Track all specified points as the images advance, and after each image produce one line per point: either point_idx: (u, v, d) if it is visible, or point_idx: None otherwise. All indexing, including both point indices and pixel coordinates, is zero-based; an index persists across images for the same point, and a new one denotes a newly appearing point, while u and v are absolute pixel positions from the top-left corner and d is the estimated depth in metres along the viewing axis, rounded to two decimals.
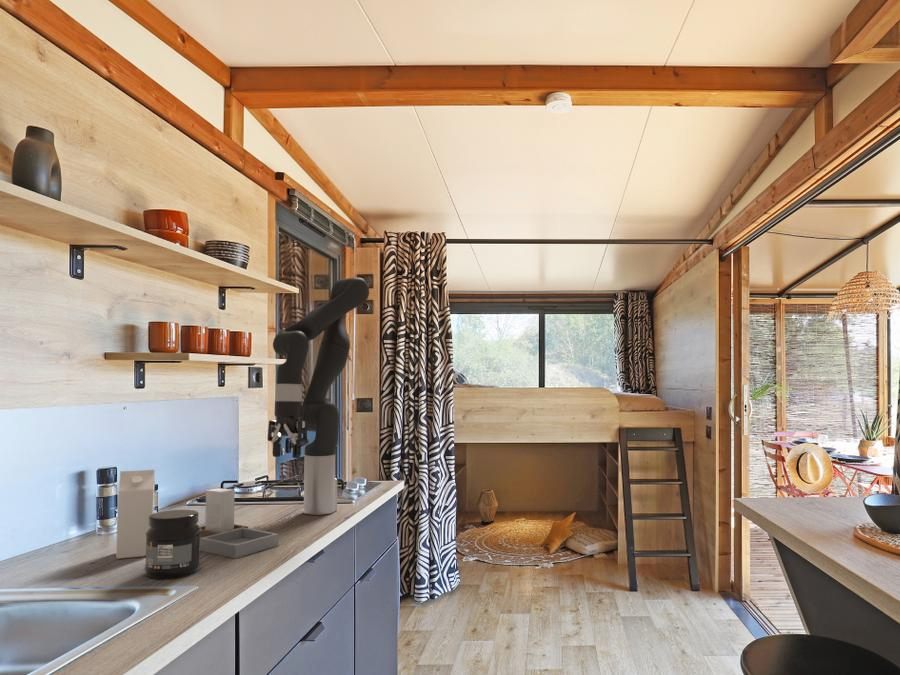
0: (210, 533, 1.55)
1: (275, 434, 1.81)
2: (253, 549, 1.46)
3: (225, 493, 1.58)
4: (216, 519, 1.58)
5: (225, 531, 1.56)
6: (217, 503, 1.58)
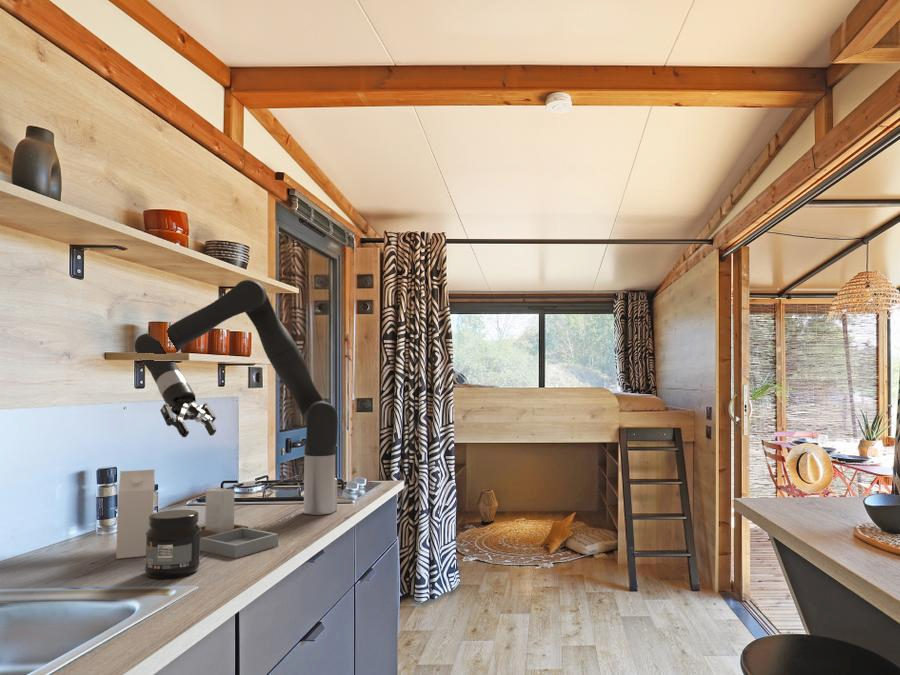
0: (210, 533, 1.55)
1: None
2: (253, 549, 1.46)
3: (225, 493, 1.58)
4: (216, 519, 1.58)
5: (225, 531, 1.56)
6: (217, 503, 1.58)
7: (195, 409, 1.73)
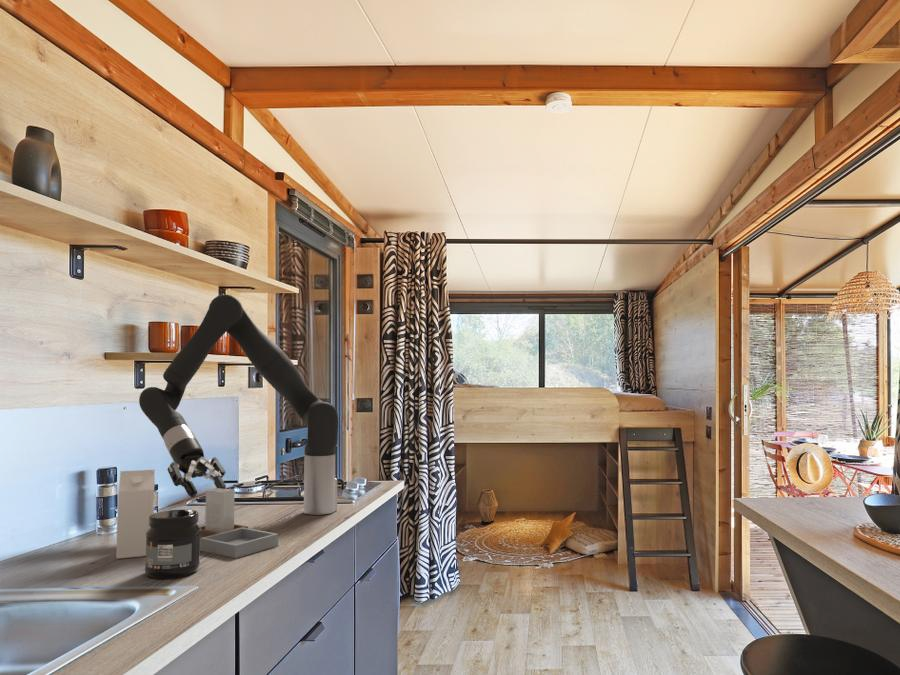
0: (210, 533, 1.55)
1: None
2: (253, 549, 1.46)
3: (225, 493, 1.58)
4: (216, 519, 1.58)
5: (225, 531, 1.56)
6: (217, 503, 1.58)
7: (203, 465, 1.67)
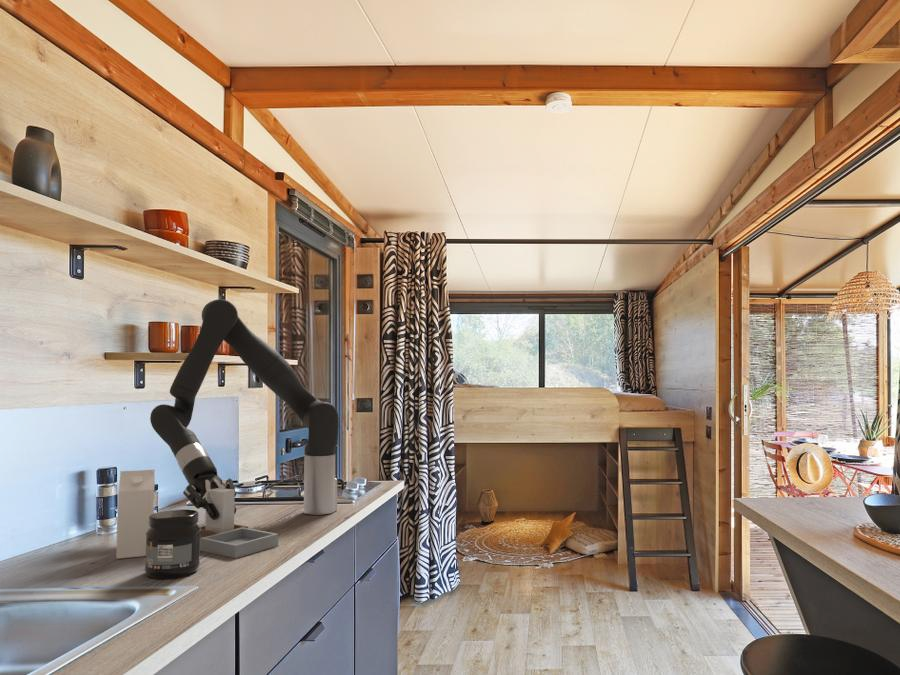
0: (210, 533, 1.55)
1: None
2: (253, 549, 1.46)
3: (225, 493, 1.58)
4: (216, 519, 1.58)
5: (225, 531, 1.56)
6: (217, 503, 1.58)
7: (216, 485, 1.63)
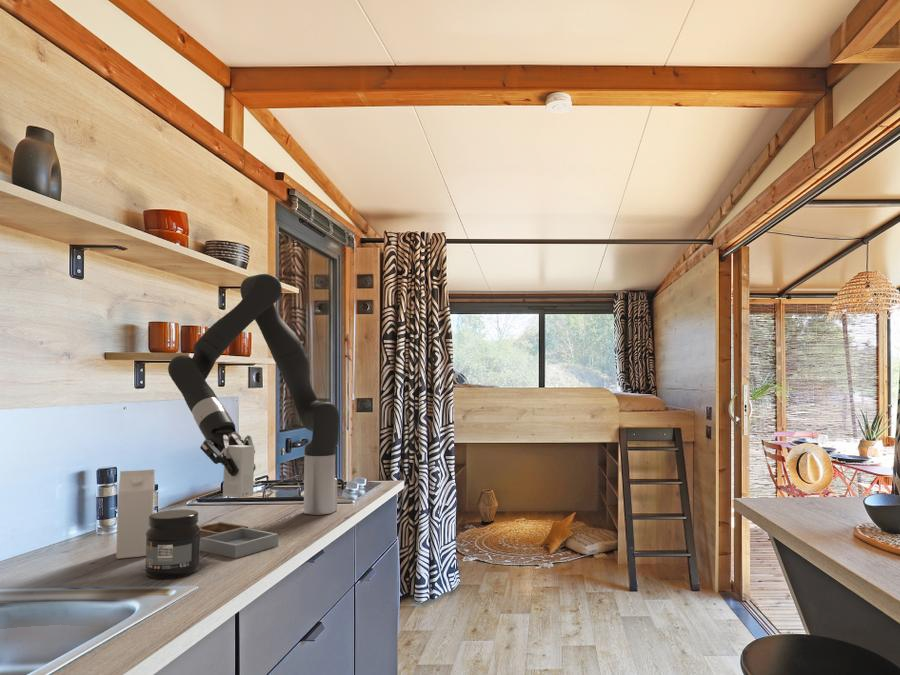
0: (210, 533, 1.55)
1: None
2: (253, 549, 1.46)
3: (244, 448, 1.49)
4: None
5: (225, 531, 1.56)
6: (236, 459, 1.49)
7: (234, 441, 1.54)
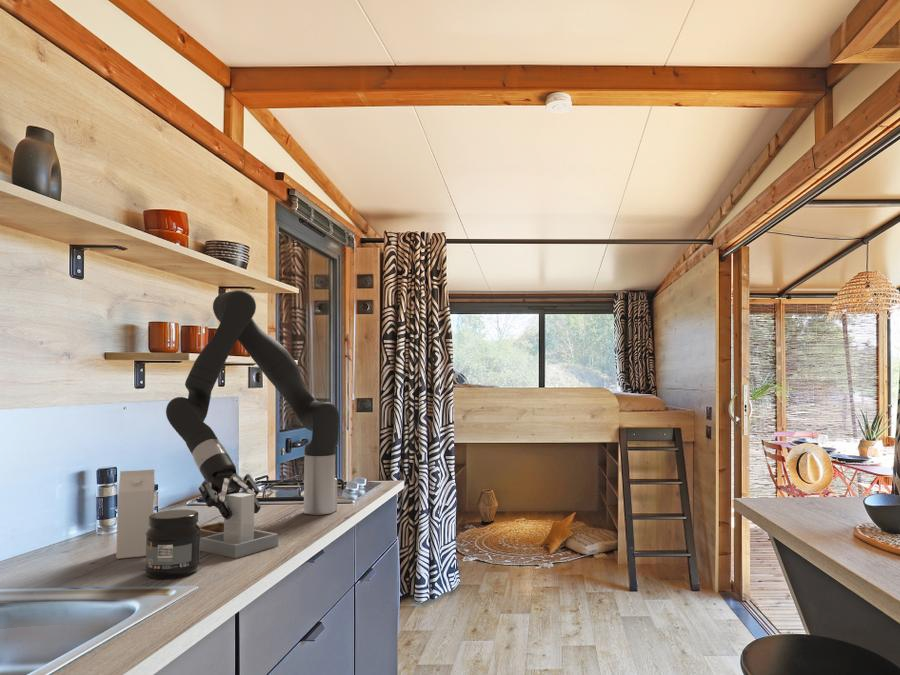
0: (210, 533, 1.55)
1: None
2: (253, 549, 1.46)
3: (244, 498, 1.48)
4: (235, 525, 1.48)
5: None
6: (236, 508, 1.48)
7: (236, 483, 1.54)
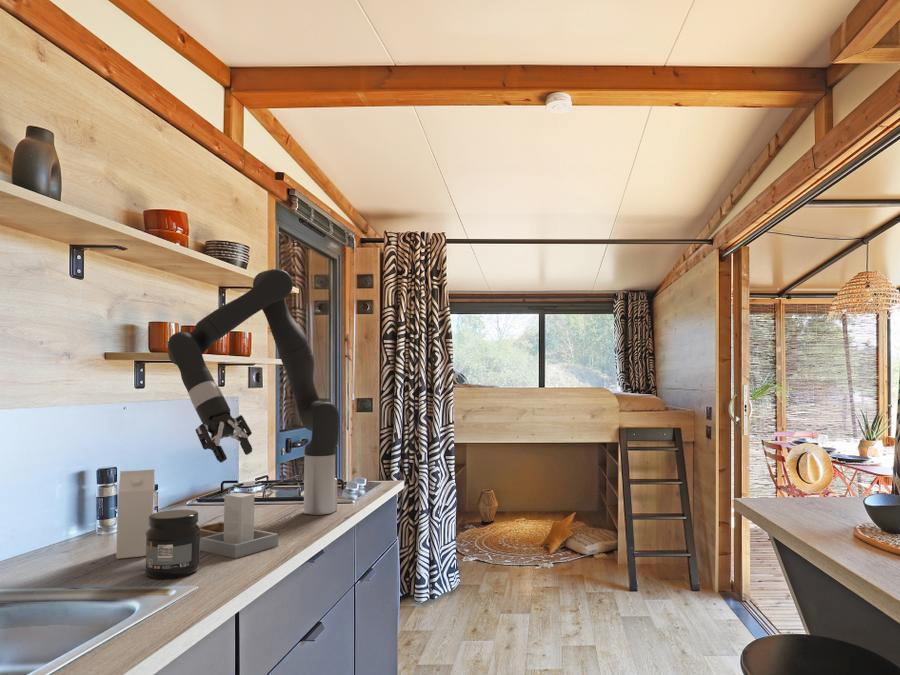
0: (210, 533, 1.55)
1: None
2: (253, 549, 1.46)
3: (244, 498, 1.48)
4: (235, 526, 1.48)
5: None
6: (236, 508, 1.48)
7: (231, 426, 1.62)
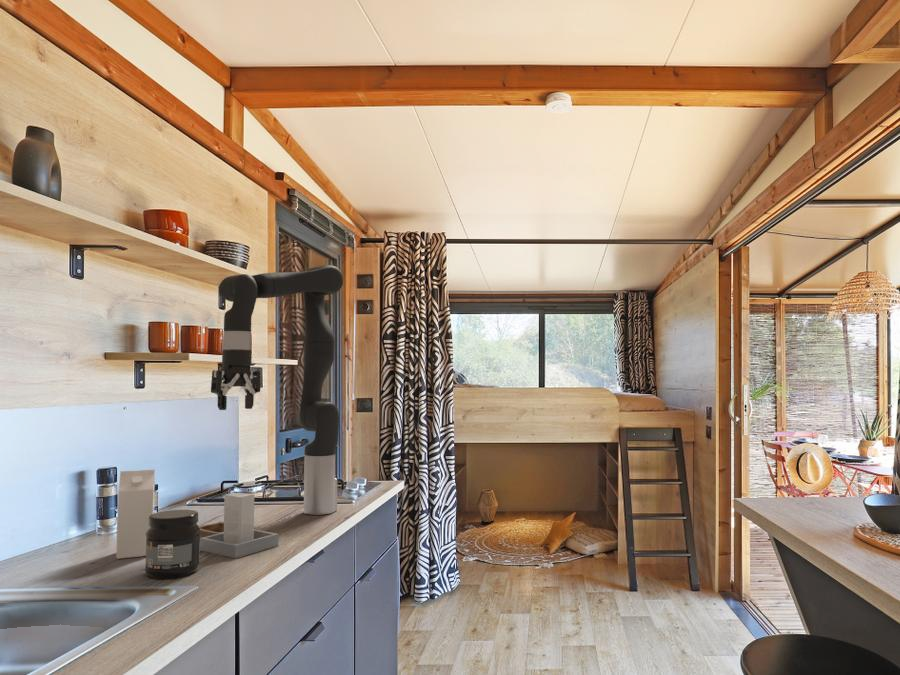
0: (210, 533, 1.55)
1: None
2: (253, 549, 1.46)
3: (244, 498, 1.48)
4: (235, 526, 1.48)
5: None
6: (236, 508, 1.48)
7: (244, 380, 1.69)
